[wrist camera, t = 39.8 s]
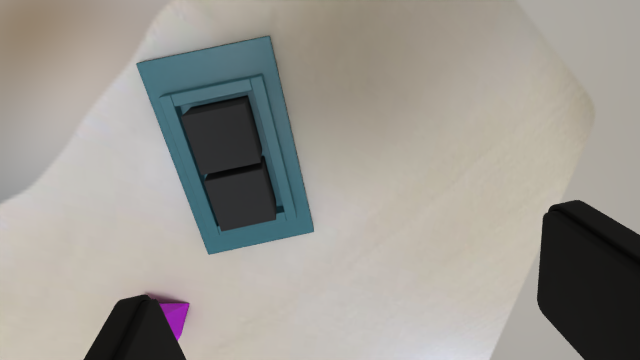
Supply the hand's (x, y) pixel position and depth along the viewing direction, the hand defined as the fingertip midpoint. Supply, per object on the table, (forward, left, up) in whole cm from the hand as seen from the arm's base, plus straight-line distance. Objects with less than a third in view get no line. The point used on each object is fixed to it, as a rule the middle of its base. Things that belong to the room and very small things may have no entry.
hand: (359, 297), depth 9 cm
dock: (+7, +4, -26) cm, 28 cm away
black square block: (+7, +7, -25) cm, 27 cm away
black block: (+7, +1, -25) cm, 26 cm away
